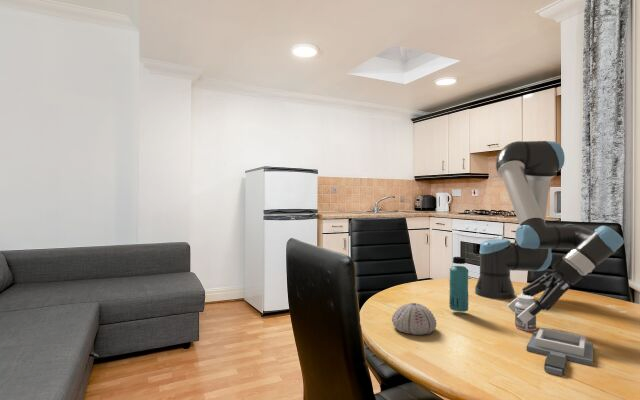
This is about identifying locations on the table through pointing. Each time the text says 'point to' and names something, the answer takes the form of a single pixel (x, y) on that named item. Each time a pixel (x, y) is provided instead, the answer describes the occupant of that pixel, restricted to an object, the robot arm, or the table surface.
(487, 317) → the table surface
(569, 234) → the robot arm
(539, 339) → the holder
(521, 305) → the pill bottle
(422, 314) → the sea urchin shell
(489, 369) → the table surface
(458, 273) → the beverage bottle
